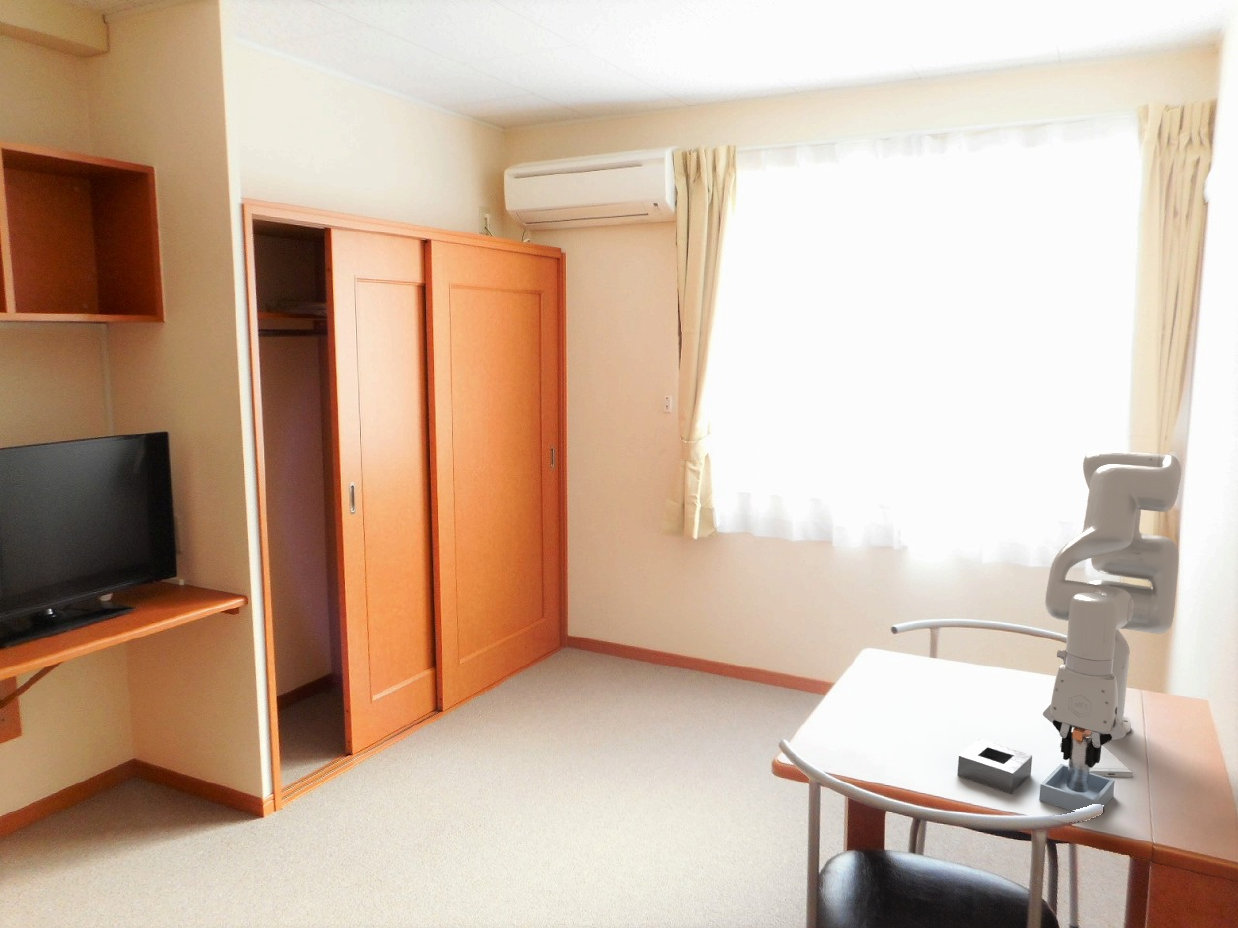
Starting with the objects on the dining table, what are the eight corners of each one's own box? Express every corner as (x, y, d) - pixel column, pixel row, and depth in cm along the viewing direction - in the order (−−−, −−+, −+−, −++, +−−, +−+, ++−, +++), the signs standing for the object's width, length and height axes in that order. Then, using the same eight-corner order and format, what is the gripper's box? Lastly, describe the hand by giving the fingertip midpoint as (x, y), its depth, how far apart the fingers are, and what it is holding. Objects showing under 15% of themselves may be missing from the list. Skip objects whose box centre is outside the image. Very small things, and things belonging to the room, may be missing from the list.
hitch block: (978, 758, 179) (979, 738, 178) (1030, 775, 172) (1032, 755, 172) (957, 775, 172) (958, 755, 171) (1011, 793, 165) (1012, 773, 164)
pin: (1062, 789, 163) (1067, 727, 161) (1072, 779, 167) (1077, 719, 165) (1082, 795, 161) (1088, 734, 159) (1091, 786, 164) (1097, 725, 163)
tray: (1059, 778, 171) (1061, 763, 171) (1113, 795, 165) (1114, 780, 164) (1039, 799, 163) (1040, 784, 162) (1094, 818, 157) (1096, 802, 156)
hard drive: (1060, 741, 185) (1090, 770, 172) (1100, 742, 184) (1133, 771, 172) (1059, 749, 185) (1089, 778, 173) (1100, 750, 185) (1132, 779, 172)
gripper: (1032, 656, 163) (1024, 753, 166) (1134, 681, 152) (1124, 784, 155) (1046, 647, 169) (1039, 740, 171) (1146, 670, 157) (1136, 769, 160)
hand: (1079, 760), depth 163 cm, fingers closed on pin, 3 cm apart
